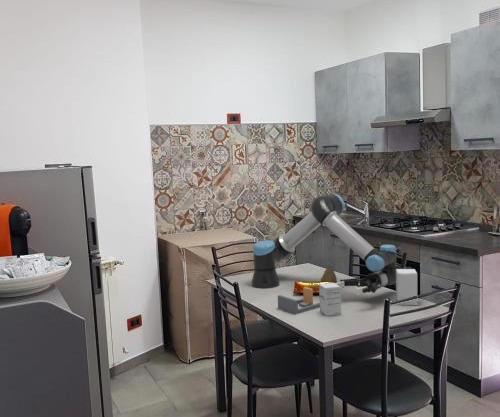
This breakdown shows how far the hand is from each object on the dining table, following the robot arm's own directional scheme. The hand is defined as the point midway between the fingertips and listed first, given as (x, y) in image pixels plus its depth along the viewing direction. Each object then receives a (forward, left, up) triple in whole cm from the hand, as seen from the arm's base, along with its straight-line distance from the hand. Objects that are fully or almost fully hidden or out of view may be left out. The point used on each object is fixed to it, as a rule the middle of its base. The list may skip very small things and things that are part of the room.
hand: (345, 289), depth 234 cm
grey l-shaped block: (-15, -12, -9) cm, 21 cm away
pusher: (-15, -10, -9) cm, 20 cm away
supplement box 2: (+14, +26, -9) cm, 31 cm away
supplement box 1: (0, -10, -9) cm, 13 cm away
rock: (-32, +22, -9) cm, 40 cm away
